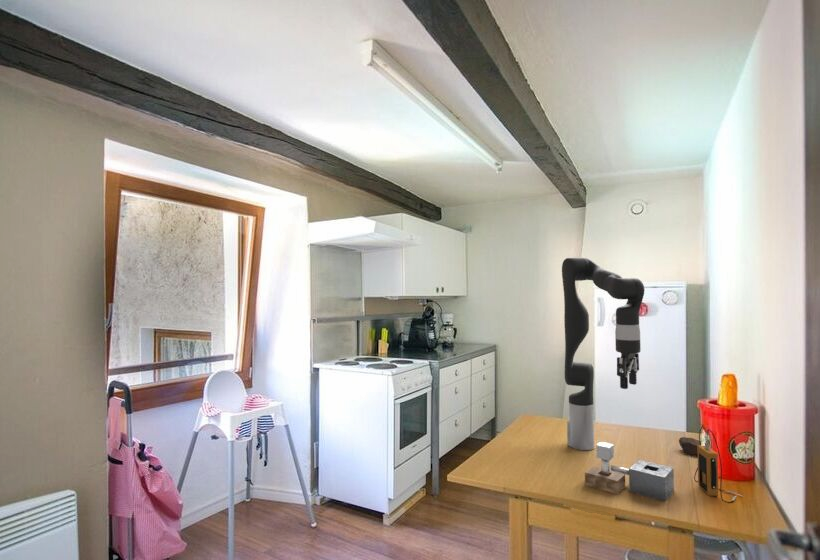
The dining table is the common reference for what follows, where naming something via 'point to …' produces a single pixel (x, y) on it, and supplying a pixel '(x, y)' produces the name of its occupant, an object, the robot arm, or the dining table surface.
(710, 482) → the multimeter
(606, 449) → the grey square peg
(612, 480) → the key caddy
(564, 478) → the dining table surface
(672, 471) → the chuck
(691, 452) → the rough brown rock chunk
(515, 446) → the dining table surface
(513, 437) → the dining table surface
